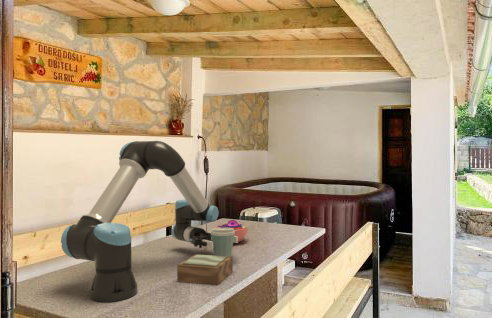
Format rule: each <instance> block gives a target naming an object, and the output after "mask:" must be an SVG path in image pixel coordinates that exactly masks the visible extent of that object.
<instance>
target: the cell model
mask: <svg viewBox="0 0 492 318" xmlns="http://www.w3.org/2000/svg"><path fill="white" fill-rule="evenodd" d="M215 228H233V229H234V231H235V234H234V236H237V237H238V243H240V242H241V241H243V240H244V239H245V238H246V237H247V235H248V226H247V225H246V224H244V223H238V222H237V220H235V219H230V220H228V221H227V223H223V224H221V223H220V224H219V225H216V226H215ZM233 244H235V243H234V242H233Z"/></svg>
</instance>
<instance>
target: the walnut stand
mask: <svg viewBox="0 0 492 318" xmlns="http://www.w3.org/2000/svg"><path fill="white" fill-rule="evenodd" d="M233 263H234V262H233V256H231V257H230V256H214V254H213V255H212V254H210V255H209V254H193V255H192V256H190V257H188V258H187V259H185V260H184V261H182V262H180V263H179V264H177V265H176V271H177V272H176V279H177V280H176V281H177V282H180V283H188V284H189V283H190V284H191V283H192V284H203V285H215V286H219V285H220V284H221V283H222V282H223V281H224V280H225V279H226V278H228V277H229V276H230V275H231V274H233V272H234V271H233V270H234V269H233V267H234V266H233Z"/></svg>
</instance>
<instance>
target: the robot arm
mask: <svg viewBox="0 0 492 318" xmlns="http://www.w3.org/2000/svg"><path fill="white" fill-rule="evenodd" d="M118 159H119V161H118V165H119V168H118V169H117V171H116V173H115V174H114V176H113V177H112V179H111V180H110V182H109V183H108V184H107V186H106V188H105V189H104V191H103V192H102V194H101V195H100V197H99V198H98V199H97V201H96V203H94V205H93V207H92V208H91V210H90V211H89V213H88V214H84V215H81V217H80V219H79V220H78V221H77V223H76V224H75V223H73V224H71V225H68V226H66V228H65V229H64V230H63V232H62V235H61V238H60V244H61V250H62V251H63V253H64V254H65V255H66V256H68V257H69V258H73V259H75V260H84V261H89V262H90V261H92V262H94V263H95V273H94V278H93V281H92V284H91V287H90V288H91V289H90V299H91V300H92V301H96V302H102V303H108V302H109V303H110V302H118V301H123V300H126V299H130V298H131V297H133V296H135V295H136V294H137V293H138V283H137V281H136V277H135V275H134V272H133V268H132V266H133V265H132V236H131V229H130V227H129V226H128V225H126V224H123V223H117V222H114V223H113V221H114V219H115V217H116V216H117V214H118V213H119V211H120V210H121V208H122V207H123V204H124V203H125V202H126V200H127V199H128V196H130V194H131V192H132V190H133V189H134V187H135V185H137V182H138V181H139V179H142V178H145V177H146V175H147V173H148V172H149V170H158V171H161V172H162V173H164V175H165V176H166V177H169V178H170V179H171V180H172V182H173V184H174V185H175V187H176V188H177V189H178V191H179V192H180V194H181V195H182V196H183V198H184V199H178V200H176V201H175V206H174V207H175V208H174V213H175V214H174V215H175V223H174V225H173V226H172V229H171V235H172V237H173V239H176V240H178V241H181V242H182V241H183V242H186V243H190V244H191V245H193V246H194V247H196V248H197V247H198V249H202V248H203V247H205V248H208V249H212V250H213V242H212V237H211V232H207V231H206V230H205V229H204V228H201V227H197V226H194V225H193V226H192V221H193V222H196V221H197V222H203V223H204V222H206V223H214V222H216V221H218V220H217V219H218V217H219V213H220V211H219V209H218V207H217V206H216V205H213V204H212V205H211V204H210V203H209V202H208V200H207V199H206V198H205V196H204V194H203V193H202V191H201V190H200V188H199V186H198V185H197V184H196V182H195V181H194V178H193V177H192V176H191V174H190V172H189V171H188V169H187V168H186V162H185V160H184V158H183V157H182V156H181V155H180V153H179V152H177V151H176V149H175V148H173V147H172V146H171V145H169V144H168V143H166V142H164V141H162V140H148V141H147V140H144V141H140V140H139V141H138V140H136V141H134V140H133V141H129V142H126V144H124V145H123V146H122V147H121V149H120V151H119V156H118ZM233 242H234V243H233V244H238V243H239V242H238V237H237V236H234V240H233Z"/></svg>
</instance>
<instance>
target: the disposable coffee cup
mask: <svg viewBox="0 0 492 318" xmlns="http://www.w3.org/2000/svg"><path fill="white" fill-rule="evenodd" d="M210 233H211V239H212V242H213V249H212V251H213V255H214V256H230V257H232V254H233V246H234V243H233V240H234V234H235V231H234V229H233V228H216V227H215V228H212V229H211V230H210Z"/></svg>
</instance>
